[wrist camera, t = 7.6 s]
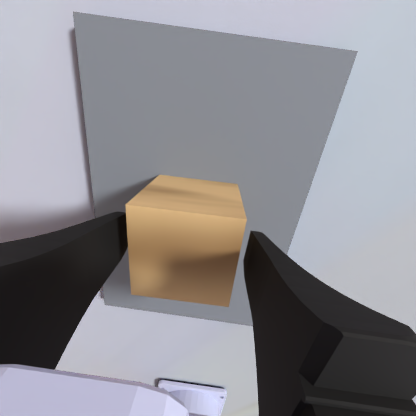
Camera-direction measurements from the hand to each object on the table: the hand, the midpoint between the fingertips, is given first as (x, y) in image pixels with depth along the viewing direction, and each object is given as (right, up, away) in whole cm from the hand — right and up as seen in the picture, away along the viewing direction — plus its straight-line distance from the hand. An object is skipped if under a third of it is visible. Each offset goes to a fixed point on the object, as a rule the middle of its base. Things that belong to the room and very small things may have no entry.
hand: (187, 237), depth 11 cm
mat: (0, +2, +4) cm, 4 cm away
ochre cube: (0, +1, +3) cm, 3 cm away
